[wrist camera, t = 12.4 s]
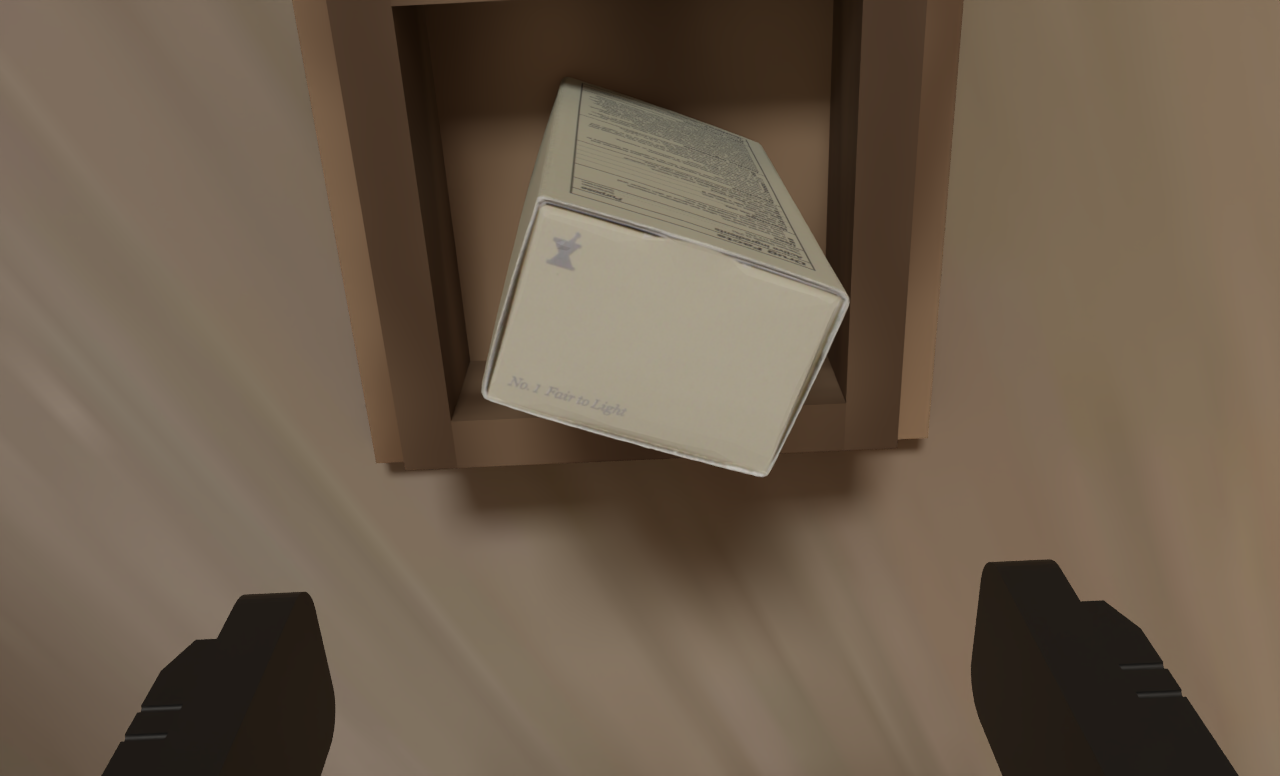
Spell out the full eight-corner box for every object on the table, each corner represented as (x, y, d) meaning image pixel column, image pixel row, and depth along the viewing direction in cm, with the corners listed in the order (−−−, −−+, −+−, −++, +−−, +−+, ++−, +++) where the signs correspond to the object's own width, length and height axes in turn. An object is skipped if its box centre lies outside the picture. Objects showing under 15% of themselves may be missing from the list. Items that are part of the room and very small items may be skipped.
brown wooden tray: (382, 448, 36) (347, 531, 31) (276, -152, 28) (207, -154, 23) (920, 423, 36) (961, 504, 31) (967, -190, 28) (1033, -199, 23)
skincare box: (519, 213, 31) (460, 403, 20) (565, 65, 29) (525, 186, 19) (720, 278, 32) (767, 492, 21) (776, 138, 30) (858, 296, 20)
